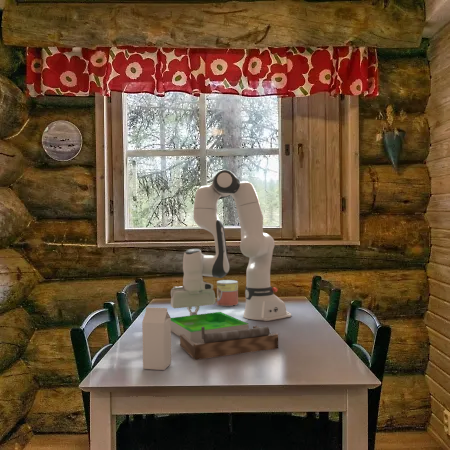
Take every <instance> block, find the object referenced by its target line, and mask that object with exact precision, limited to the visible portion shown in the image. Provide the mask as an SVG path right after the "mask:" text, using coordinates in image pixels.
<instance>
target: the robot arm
mask: <svg viewBox="0 0 450 450" xmlns="http://www.w3.org/2000/svg"><path fill="white" fill-rule="evenodd" d="M194 196H195V197H194V203H193V221H194V222H195V224H196V225H197V226H198V227H200V228H201V229H203V230H205V231H207V232H208V233H210V234H212V236H213V238H214V239H213V240H214V246H215V255H212V254H211V255H208V254H205V253H202V250H201V249H199V248H189V249H187V250H185V251H184V252H183V259H182V272H183V277H182V278H183V280H182V286H173V288H171V290H170V297H171V298H170V307H172V308H173V309H181V308H182V309H183V308H184V309H185V308H186V309H187V310H188V312H189V316H191V315H198V312H199V310H200V307H202V306H212V305H215V303H216V293H215V290H214V284H212V283H210V282H208V281H204V278H203V276H204V277H213V278H217V279H222V278H224V277H226V275H228V273H229V272H230V267H231V266H230V261H229V257H228V249H227V242H226V233H225V227H224V223H223V222H222V221H221V220H220V219H219V215H218V214H219V213H218V203H219V200H220V199H224V198H228V197H230V196H231V197H232V198H233V201H234V203H235V207H236V211H237V215H238V219H239V224H240V225H239V226H240V243H239V249H240V252H241V254H242V255H243V256H245V257H247V258H249V260H248V264H247V268H246V275H245V276H246V279H245V280H246V283H245V284H246V285H245V291H244V292H245V293H244V295H245V306H244V312H243V315H242V317H243V318H245V319H247V320H256V321H265V322H266V321H267V322H268V321H274V320H280V319H286V318H291V317H292V313H291V312H289V311H287V306H286V303H285V302H284V301H283V300H282V299H281V298H280V297H278V296H277V295H276V294H274V293H277V292H278V288H277V287H272V286H271V267H272V266H271V265H272V259H273V253H274V248H275V239H274V237H273V236H271V235H270V234H269V233H266V232H264V227H263V226H264V224H263V223H264V216H263V211H262V207H261V204H260V200H259V197H258V193H257V191H256V189H255V186H254V185H253V183H251V182H249V181H241V180H240V179H239V178H238V177H237V176H236V175H235V173H233V172H232V171H230V170H228V169H221V170H219V171H217V172H216V173H214V176H213V178H212V183H211V184H209V185H202V186H200V187H198V188H197V190H196V194H195V195H194ZM193 307H194V308H195V310H194V311H192V308H193Z"/></svg>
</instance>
